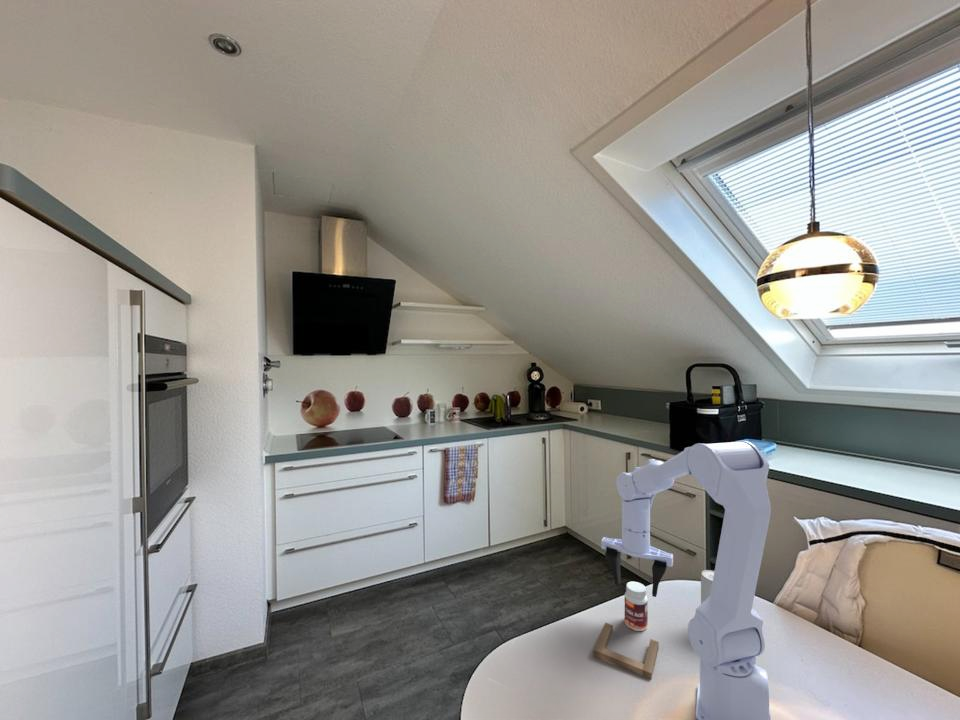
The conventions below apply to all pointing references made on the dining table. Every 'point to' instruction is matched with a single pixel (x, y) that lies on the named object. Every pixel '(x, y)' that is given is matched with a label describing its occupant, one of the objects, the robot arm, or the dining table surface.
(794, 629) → the dining table surface
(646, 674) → the socket block
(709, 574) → the beverage can
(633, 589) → the pill bottle
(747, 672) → the robot arm
